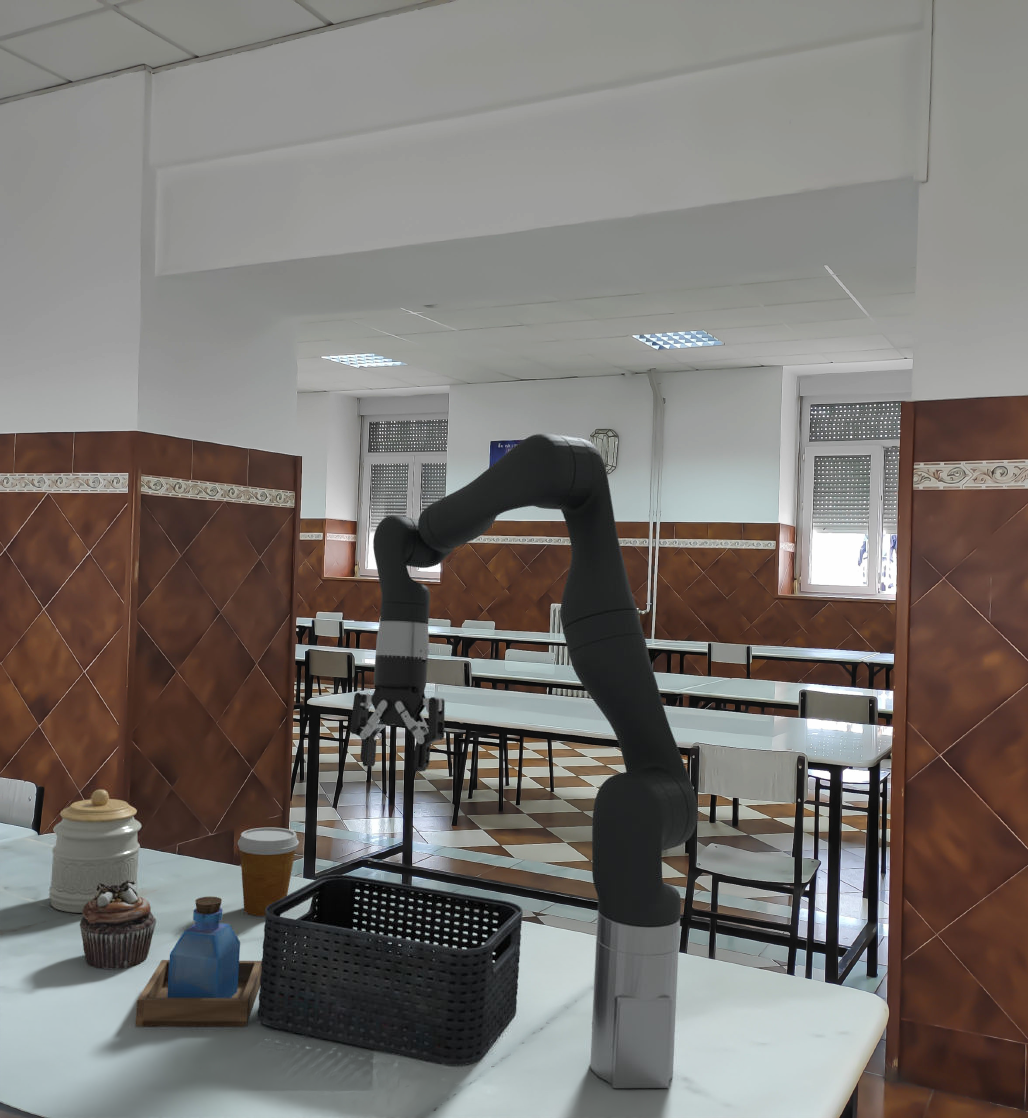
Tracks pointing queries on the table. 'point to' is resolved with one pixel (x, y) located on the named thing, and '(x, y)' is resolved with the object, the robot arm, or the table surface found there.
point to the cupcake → (117, 927)
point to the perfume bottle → (205, 956)
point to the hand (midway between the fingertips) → (394, 768)
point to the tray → (198, 1002)
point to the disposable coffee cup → (266, 866)
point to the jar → (93, 850)
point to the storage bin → (392, 969)
